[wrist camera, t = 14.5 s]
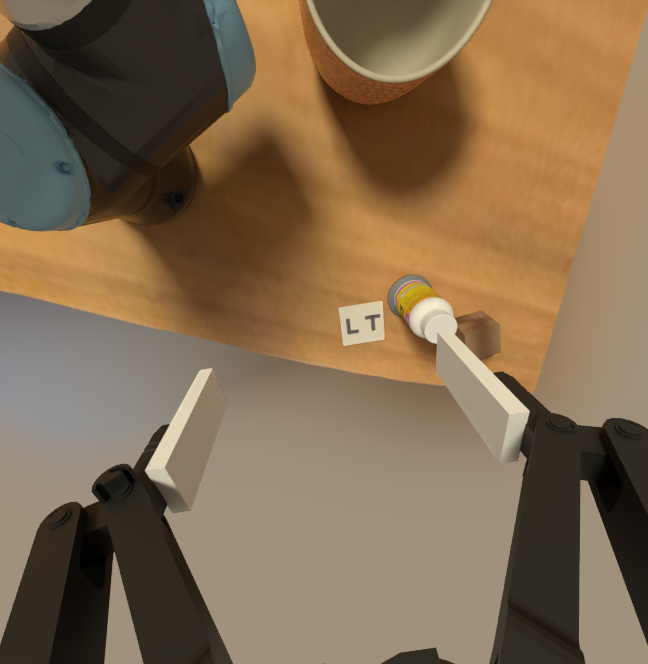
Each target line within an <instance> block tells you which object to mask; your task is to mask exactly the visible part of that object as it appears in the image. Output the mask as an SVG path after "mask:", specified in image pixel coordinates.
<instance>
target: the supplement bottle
mask: <svg viewBox="0 0 648 664" xmlns="http://www.w3.org/2000/svg"><path fill="white" fill-rule="evenodd" d="M394 304H395V307H396V309H397V310H398V312H399V313H400V315H401V316H402V317H403V319H404V320H405V322H406V323H407V324H408V326H409V327H410V328H411V330H412V331H413V332H414V333H415V334H416V335H417V336H419V337H421V338H426V339H427V340H428V341H429V342H431V343H435V344H437V332H443V331H449V330H451V331H452V332H453V333H454V334H455V333H456V331H457V322H456V320H455V318H454V317H453V316H454V314H453V309H452V307H451V306H450V304H449V303H448V302H447V301H446V300H444V299H443V298H442V297H441V296H440V295H438V294H437V293H436V292H435V291H434V290H433V289H431V288H430V287H429V286H428V285H427V284H426V283H424V282H422V281H419V280H412V281H408V282H406V283H404V284H403V285H401V286H400V287H399V288H398V290H397V291H396V293H395V296H394Z"/></svg>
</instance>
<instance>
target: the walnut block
mask: <svg viewBox="0 0 648 664" xmlns="http://www.w3.org/2000/svg"><path fill="white" fill-rule="evenodd" d="M455 320H456V322H457V331H456V333H455V335H456V336H457V337H458V338H459V339H460V340H461V341H462V342H463V343H464V344H465V345H466V346H467V347H468V349H469V350H470V351H471V352H472V353H473V354H474V355H475V356H476V357H477V358H478V359H480V358H484V357H487V356H491V355H494V354H498V353H501V346H500V324H499V323H498V322H496V321H495V320H493V319H492V318H491V317H489V316H488V315H487V314H485V313H484V312H483V311H477V312H474V313H471V314H467V315H464V316H461V317H457V318H455Z"/></svg>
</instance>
